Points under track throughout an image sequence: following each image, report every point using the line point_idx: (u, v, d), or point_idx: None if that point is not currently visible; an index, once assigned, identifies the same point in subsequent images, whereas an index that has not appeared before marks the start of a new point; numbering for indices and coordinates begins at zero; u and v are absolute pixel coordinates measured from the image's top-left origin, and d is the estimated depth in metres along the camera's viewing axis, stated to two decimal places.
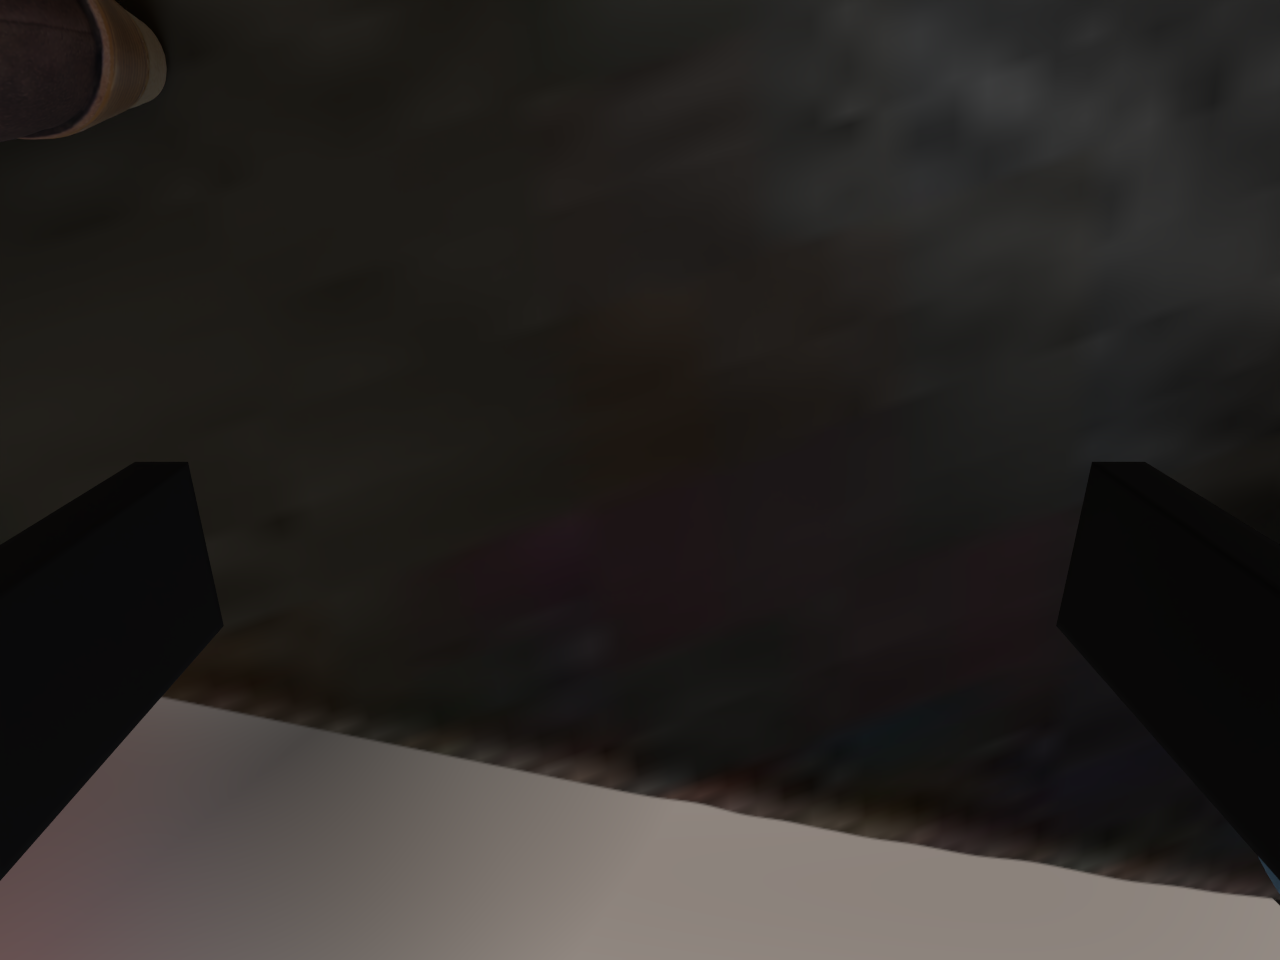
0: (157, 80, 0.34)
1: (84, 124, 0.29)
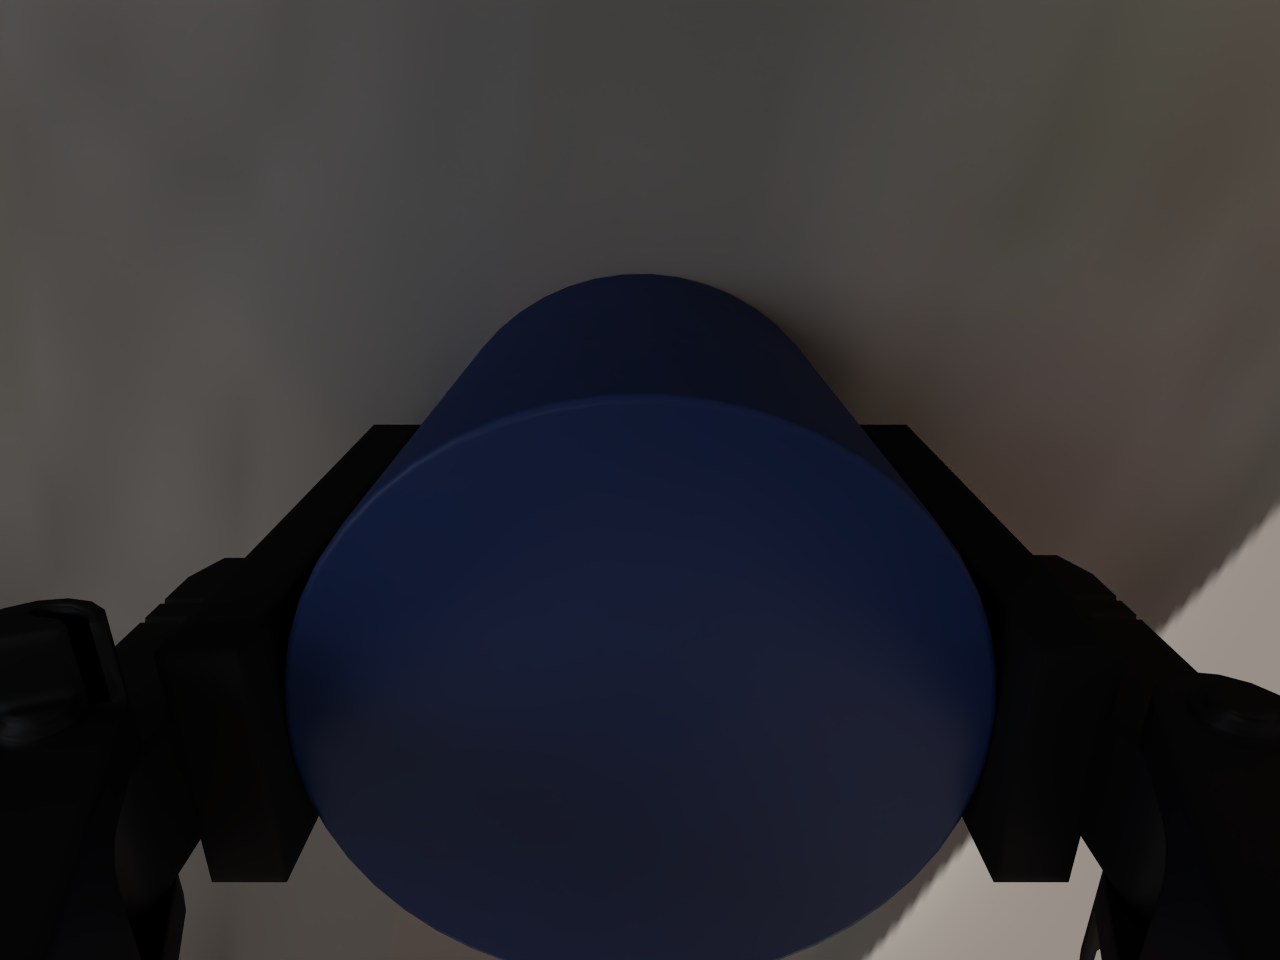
0: None
1: None
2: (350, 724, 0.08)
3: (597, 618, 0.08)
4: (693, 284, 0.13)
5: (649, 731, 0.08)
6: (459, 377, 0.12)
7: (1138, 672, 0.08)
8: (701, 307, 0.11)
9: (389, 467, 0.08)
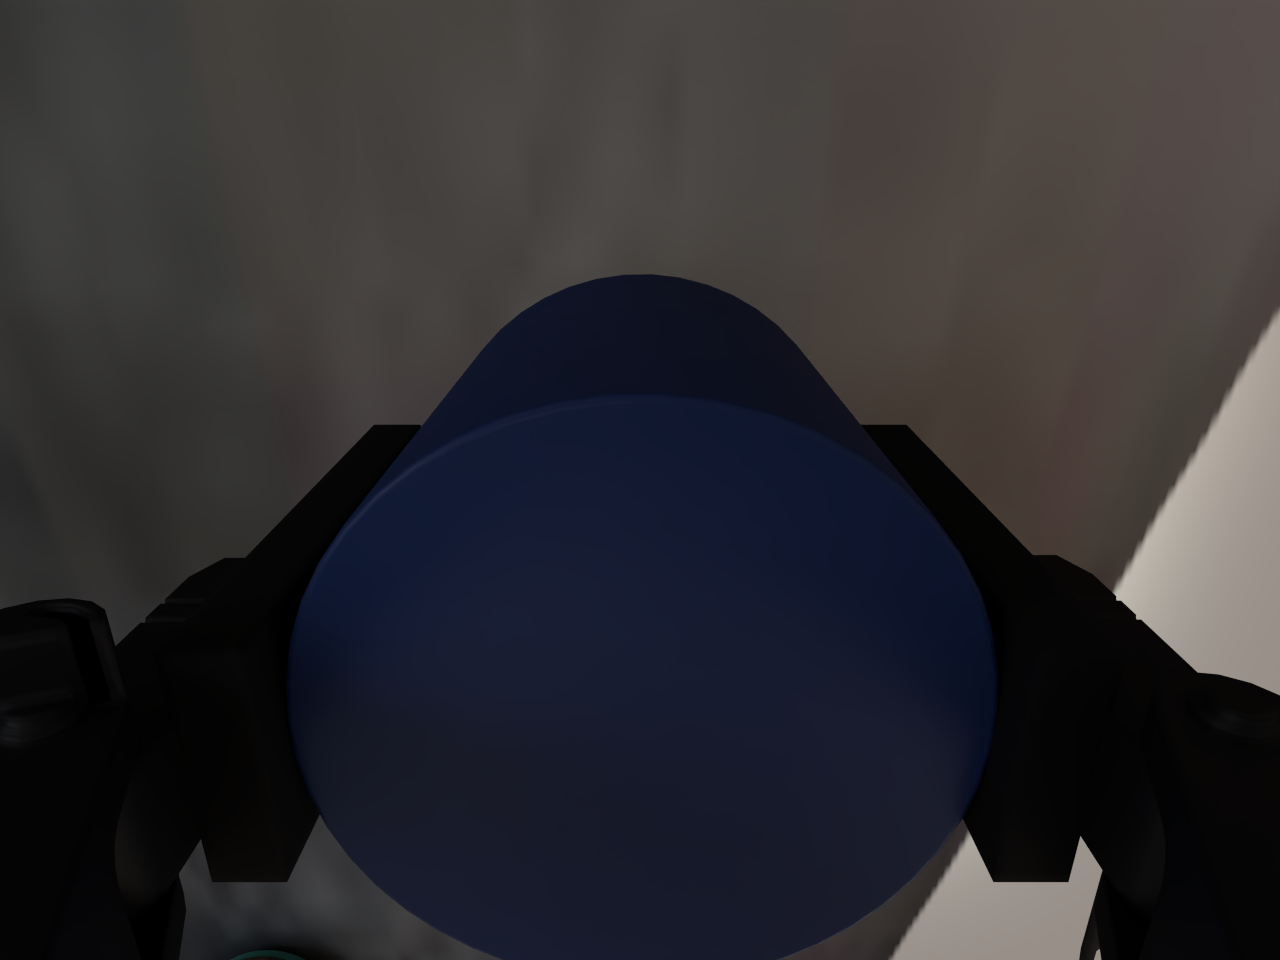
0: None
1: None
2: (352, 724, 0.08)
3: (599, 618, 0.08)
4: (694, 284, 0.13)
5: (650, 731, 0.08)
6: (460, 377, 0.12)
7: (1139, 672, 0.08)
8: (702, 307, 0.11)
9: (391, 467, 0.08)
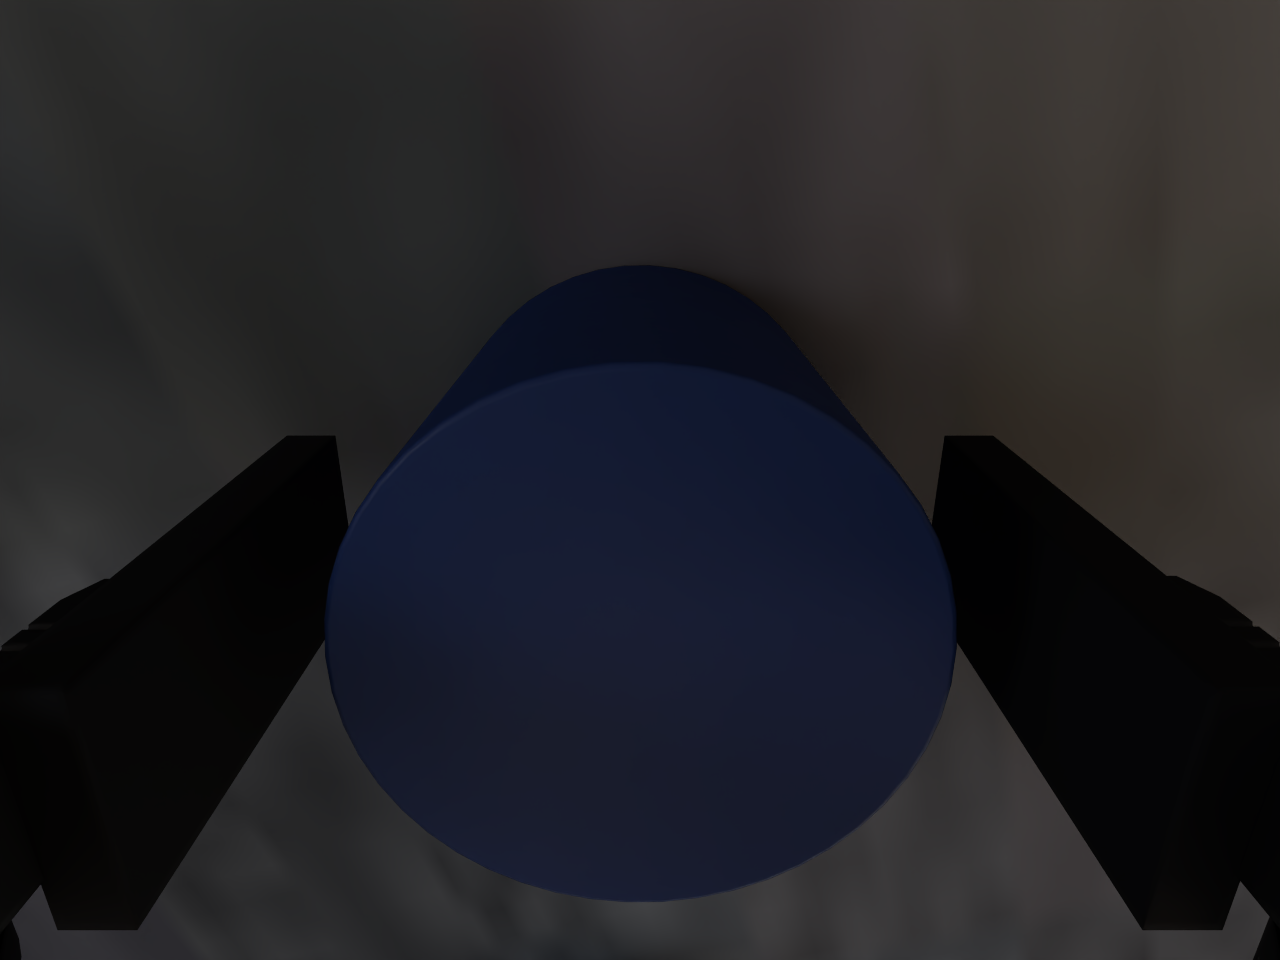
0: None
1: None
2: (383, 660, 0.09)
3: (602, 563, 0.09)
4: (689, 274, 0.14)
5: (648, 667, 0.09)
6: (473, 359, 0.13)
7: None
8: (696, 294, 0.12)
9: (417, 432, 0.09)
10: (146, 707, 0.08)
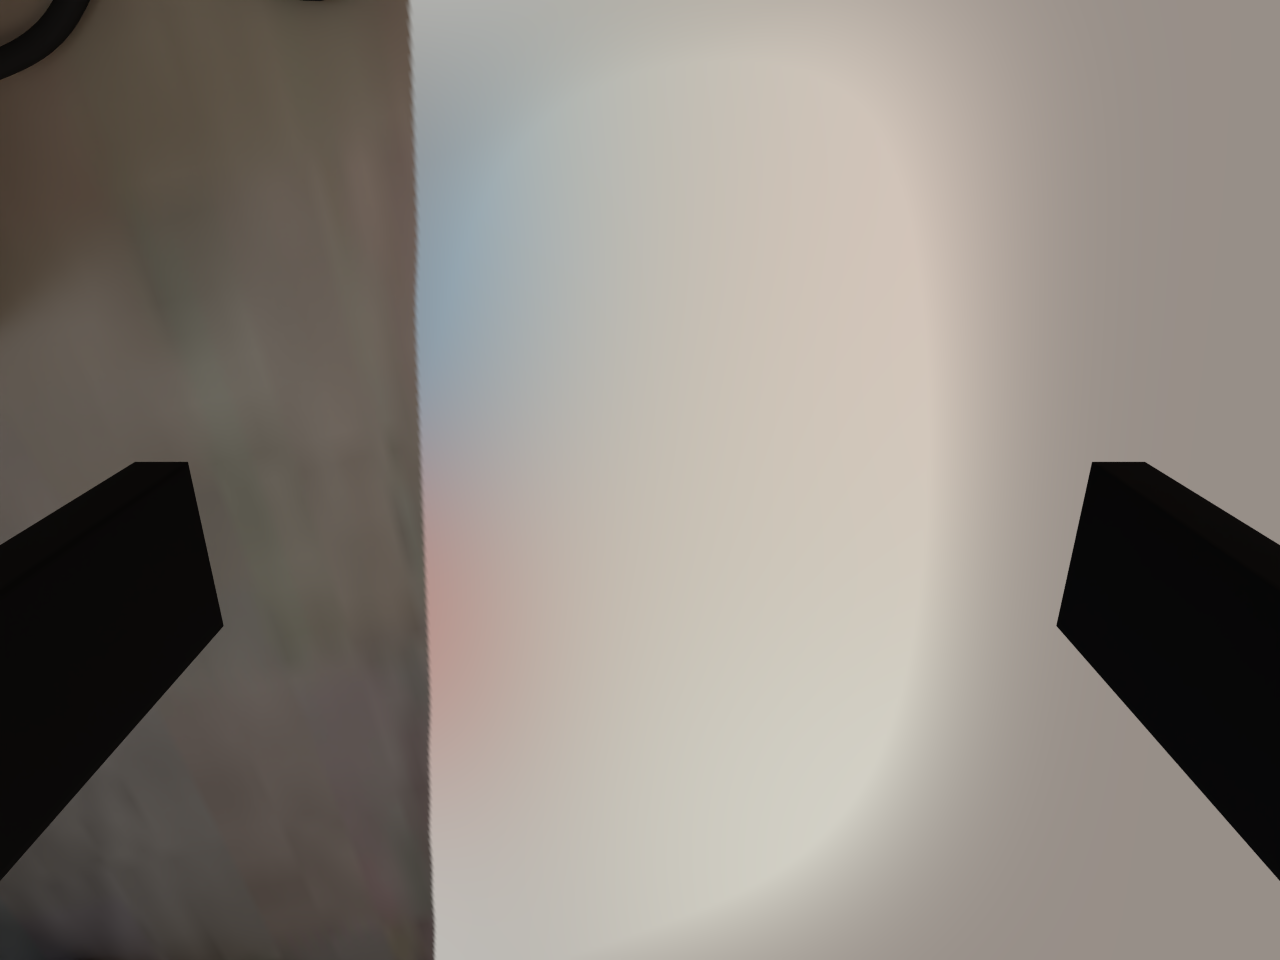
0: None
1: None
2: None
3: None
4: None
5: None
6: None
7: None
8: None
9: None
10: None
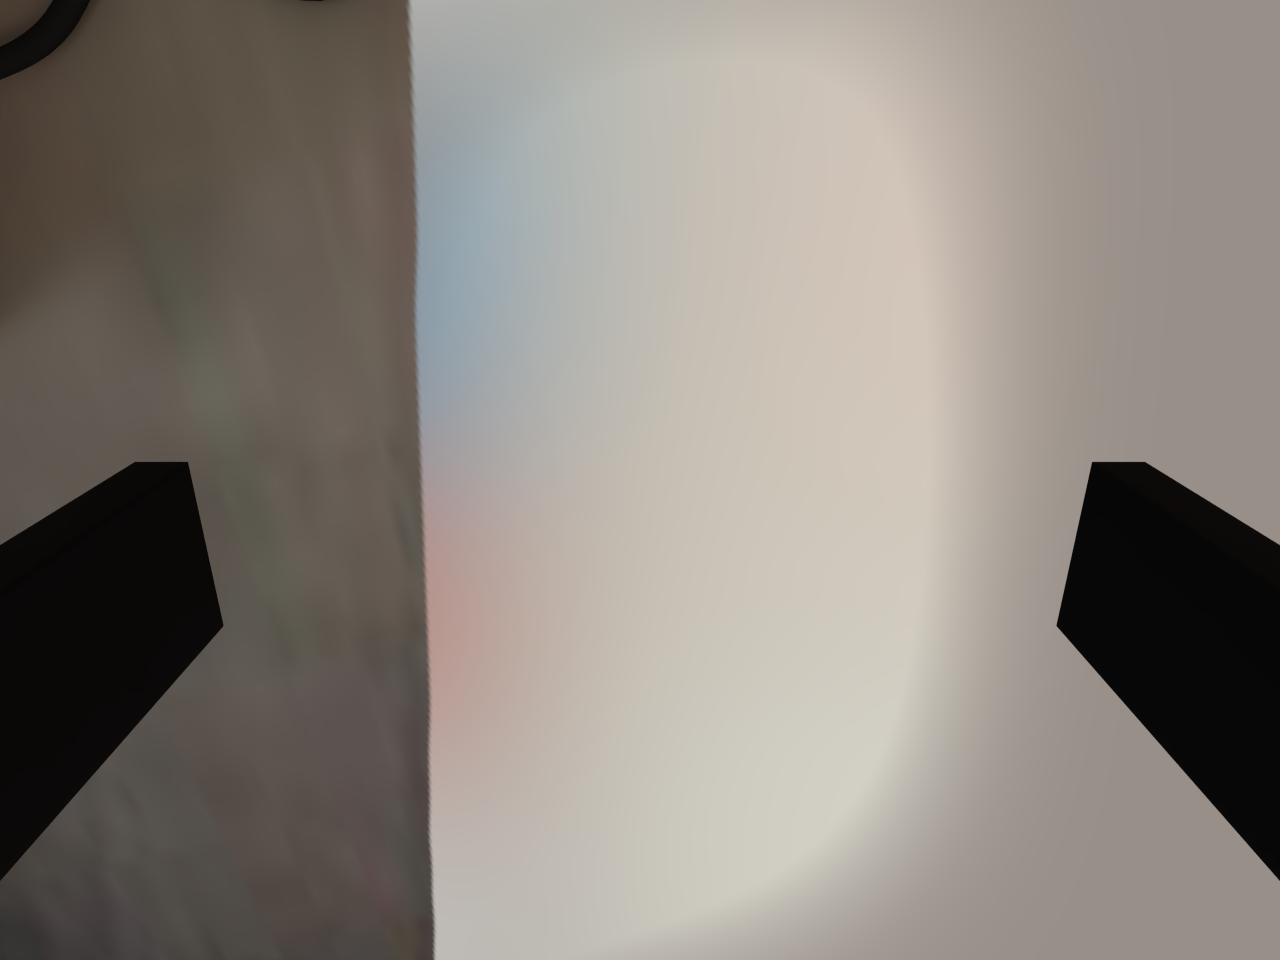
0: None
1: None
2: None
3: None
4: None
5: None
6: None
7: None
8: None
9: None
10: None
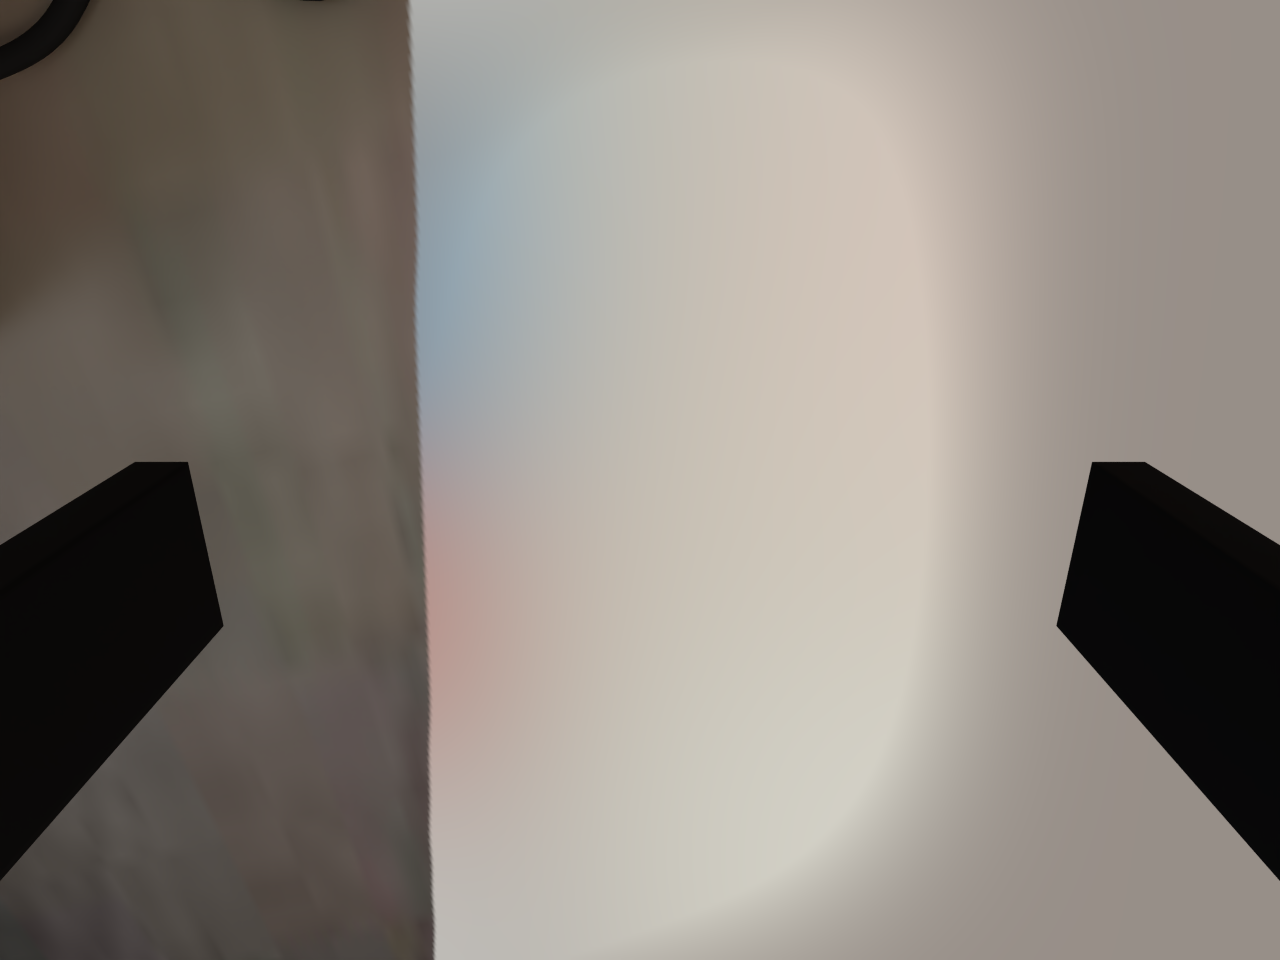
0: None
1: None
2: None
3: None
4: None
5: None
6: None
7: None
8: None
9: None
10: None
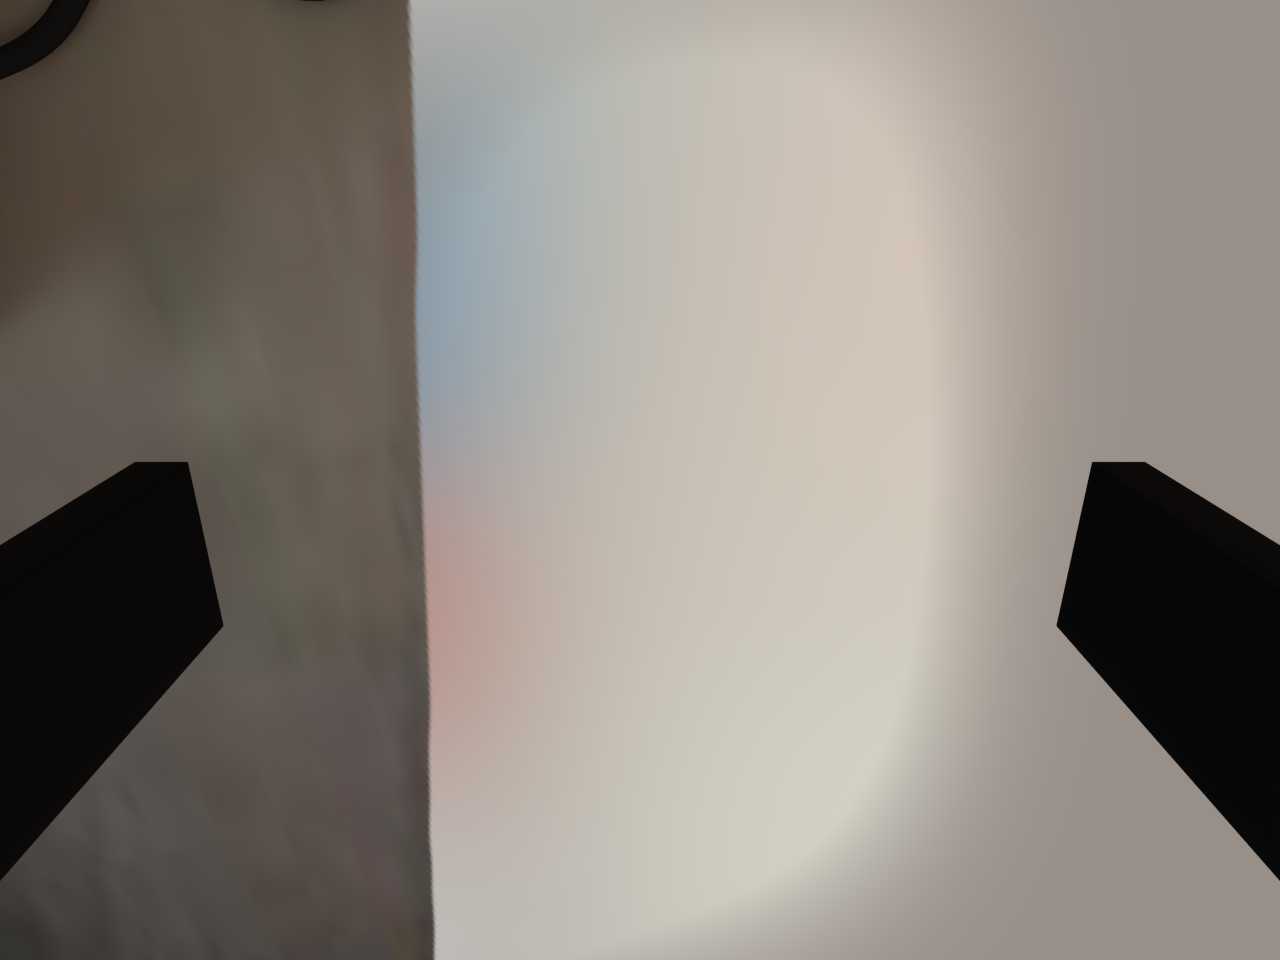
0: None
1: None
2: None
3: None
4: None
5: None
6: None
7: None
8: None
9: None
10: None
